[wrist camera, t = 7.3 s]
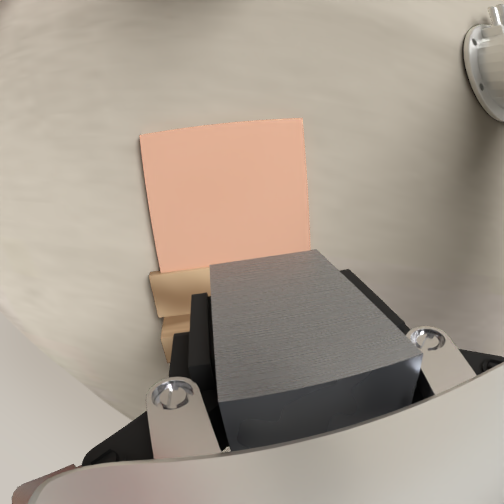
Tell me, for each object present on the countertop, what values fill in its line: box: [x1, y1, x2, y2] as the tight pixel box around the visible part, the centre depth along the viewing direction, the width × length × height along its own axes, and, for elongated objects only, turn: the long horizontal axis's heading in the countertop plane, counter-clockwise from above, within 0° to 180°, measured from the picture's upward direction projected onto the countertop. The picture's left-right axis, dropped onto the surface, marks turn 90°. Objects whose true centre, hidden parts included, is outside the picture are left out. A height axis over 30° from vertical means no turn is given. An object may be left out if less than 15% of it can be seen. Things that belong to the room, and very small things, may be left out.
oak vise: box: [149, 267, 211, 363], centre depth 28 cm, size 18×7×4 cm, turn 5°
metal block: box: [209, 250, 423, 452], centre depth 9 cm, size 4×4×7 cm
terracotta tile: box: [139, 118, 310, 273], centre depth 26 cm, size 13×13×1 cm
